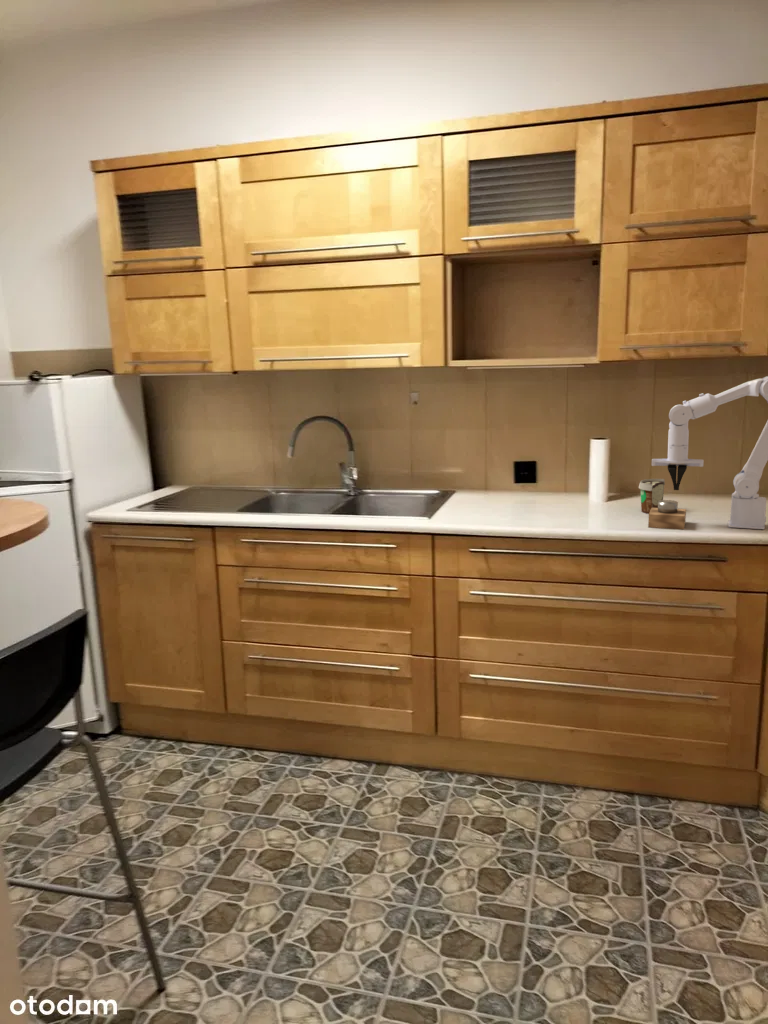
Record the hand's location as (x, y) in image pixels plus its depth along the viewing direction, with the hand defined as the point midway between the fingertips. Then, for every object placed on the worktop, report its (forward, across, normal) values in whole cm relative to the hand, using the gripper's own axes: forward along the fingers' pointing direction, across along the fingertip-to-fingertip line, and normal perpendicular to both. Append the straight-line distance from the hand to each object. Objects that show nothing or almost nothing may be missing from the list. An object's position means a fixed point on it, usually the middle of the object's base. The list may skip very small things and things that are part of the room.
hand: (676, 489), depth 225 cm
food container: (+10, +9, -16) cm, 21 cm away
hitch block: (+10, +2, +3) cm, 11 cm away
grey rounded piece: (+10, +2, +3) cm, 10 cm away
